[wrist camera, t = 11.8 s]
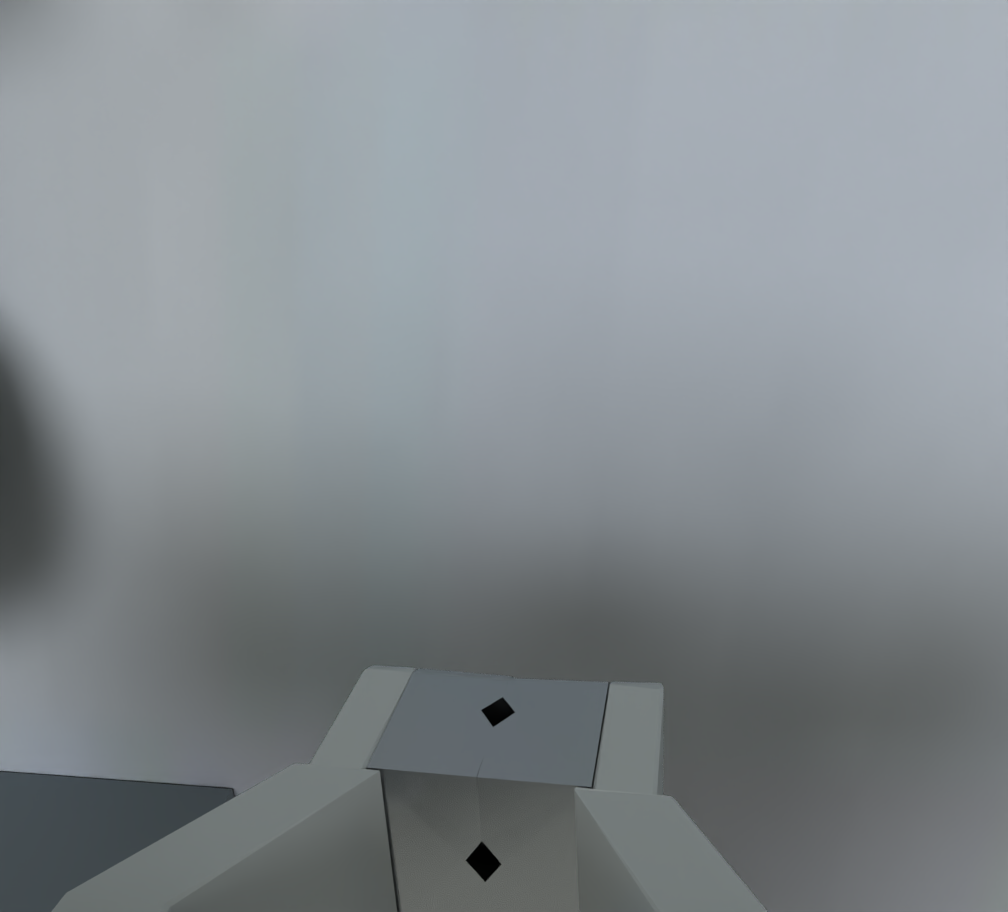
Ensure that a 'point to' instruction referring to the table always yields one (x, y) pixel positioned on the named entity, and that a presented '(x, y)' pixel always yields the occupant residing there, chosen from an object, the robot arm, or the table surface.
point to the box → (82, 830)
